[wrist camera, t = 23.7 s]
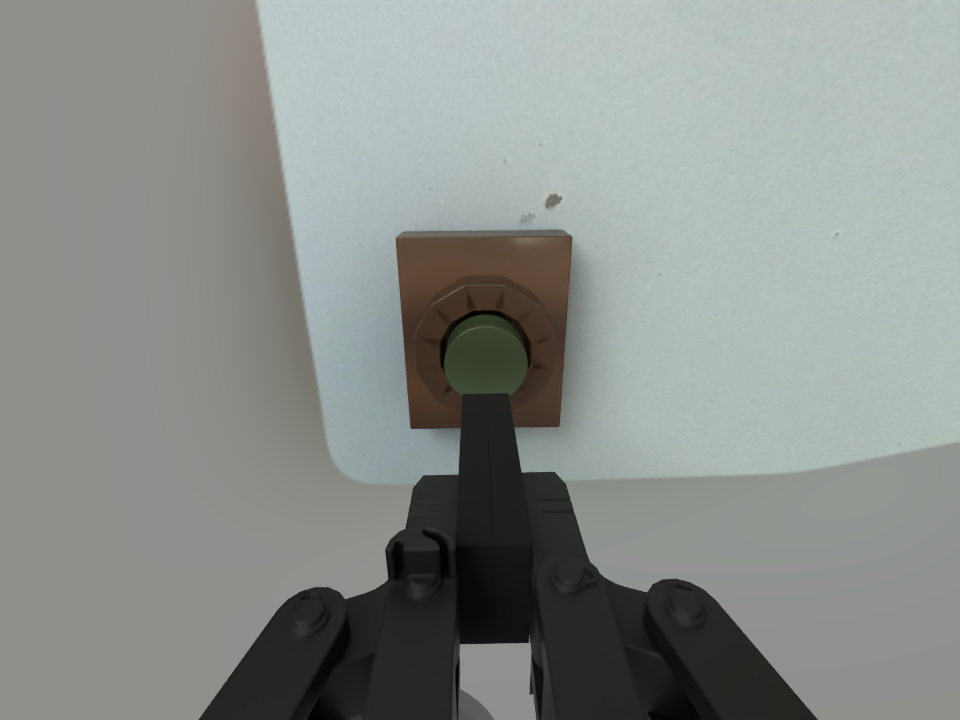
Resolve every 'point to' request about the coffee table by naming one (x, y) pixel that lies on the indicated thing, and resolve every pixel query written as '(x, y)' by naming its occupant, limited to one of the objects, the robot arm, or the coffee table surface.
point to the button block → (484, 290)
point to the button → (485, 356)
